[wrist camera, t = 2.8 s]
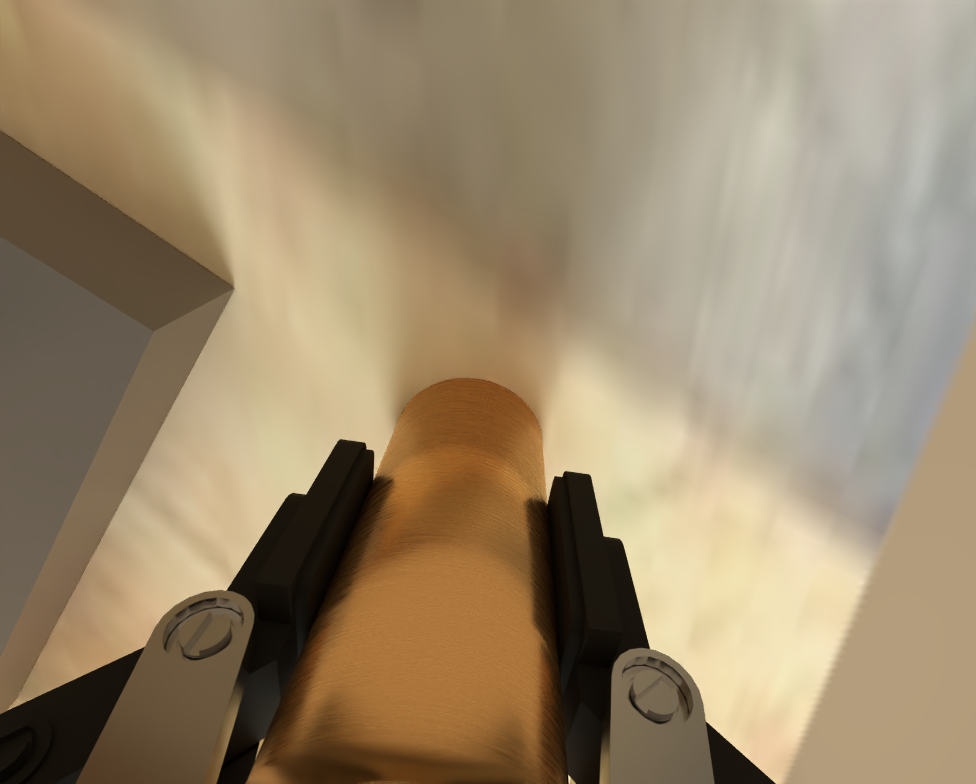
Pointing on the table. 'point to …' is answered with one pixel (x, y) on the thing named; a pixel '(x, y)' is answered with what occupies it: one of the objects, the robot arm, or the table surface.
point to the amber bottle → (435, 615)
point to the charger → (78, 382)
